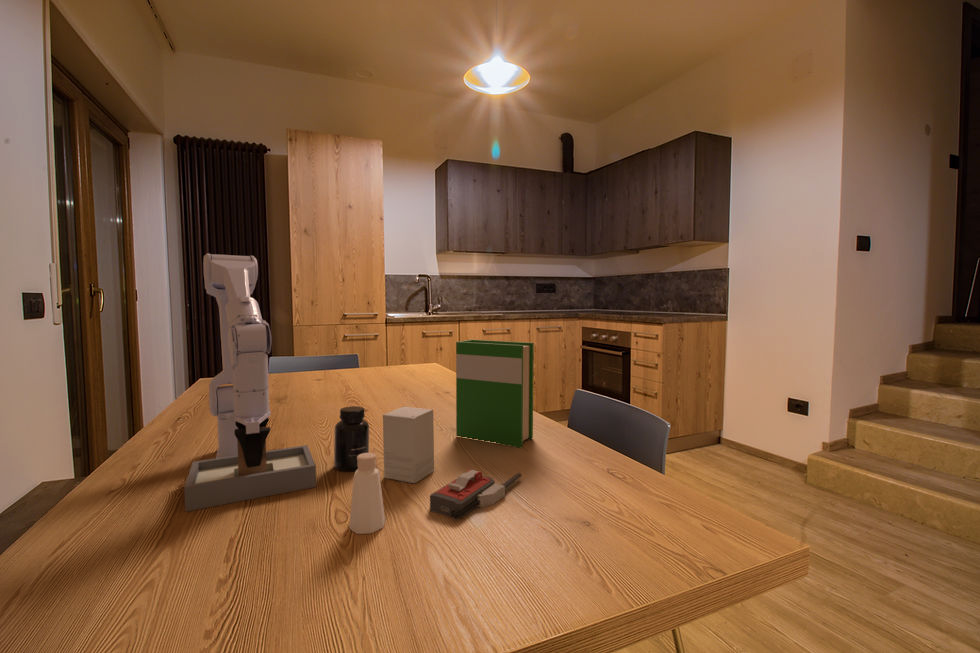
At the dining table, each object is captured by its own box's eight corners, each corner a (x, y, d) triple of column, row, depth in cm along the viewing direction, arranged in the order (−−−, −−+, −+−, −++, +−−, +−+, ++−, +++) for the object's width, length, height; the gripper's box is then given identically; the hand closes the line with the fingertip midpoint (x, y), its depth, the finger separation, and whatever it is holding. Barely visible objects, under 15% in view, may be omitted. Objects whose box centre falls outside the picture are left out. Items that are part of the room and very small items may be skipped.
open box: (193, 482, 83) (192, 461, 83) (307, 463, 93) (307, 445, 93) (185, 511, 72) (184, 487, 72) (316, 486, 82) (315, 465, 81)
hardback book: (532, 439, 110) (533, 342, 108) (521, 447, 103) (521, 345, 102) (470, 429, 118) (470, 339, 116) (456, 437, 111) (456, 341, 110)
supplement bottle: (358, 473, 88) (358, 414, 87) (327, 470, 89) (327, 411, 89) (374, 461, 94) (374, 406, 94) (346, 458, 96) (345, 403, 95)
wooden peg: (239, 476, 83) (237, 429, 83) (266, 472, 85) (264, 426, 85) (238, 485, 79) (237, 436, 79) (267, 480, 81) (265, 432, 81)
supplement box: (435, 470, 89) (435, 409, 89) (414, 484, 83) (413, 418, 82) (405, 465, 93) (404, 405, 92) (382, 478, 86) (381, 413, 85)
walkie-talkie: (467, 529, 68) (525, 482, 85) (466, 500, 67) (525, 460, 84) (422, 514, 72) (485, 473, 89) (421, 488, 72) (485, 451, 89)
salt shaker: (352, 538, 64) (351, 464, 64) (346, 521, 69) (344, 452, 68) (389, 529, 67) (388, 457, 66) (380, 513, 72) (379, 447, 71)
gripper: (227, 384, 86) (229, 452, 87) (224, 399, 73) (227, 479, 74) (268, 381, 89) (270, 447, 90) (271, 394, 77) (273, 471, 77)
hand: (253, 461), depth 82 cm, fingers open, 5 cm apart
